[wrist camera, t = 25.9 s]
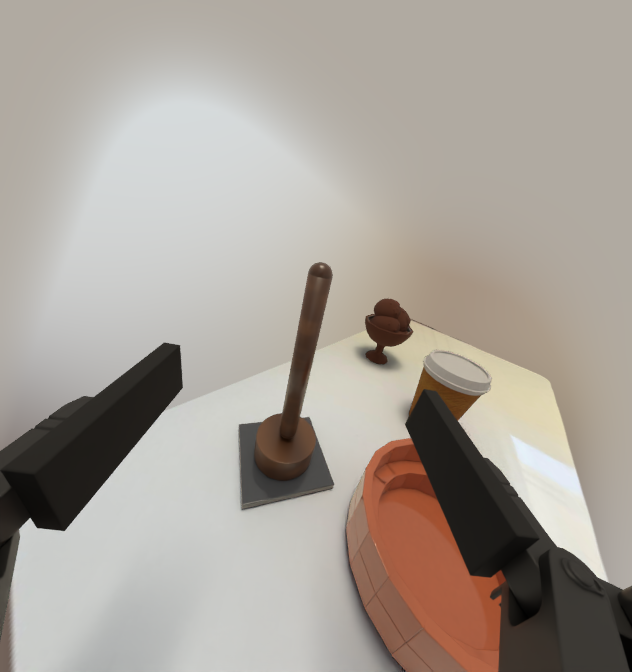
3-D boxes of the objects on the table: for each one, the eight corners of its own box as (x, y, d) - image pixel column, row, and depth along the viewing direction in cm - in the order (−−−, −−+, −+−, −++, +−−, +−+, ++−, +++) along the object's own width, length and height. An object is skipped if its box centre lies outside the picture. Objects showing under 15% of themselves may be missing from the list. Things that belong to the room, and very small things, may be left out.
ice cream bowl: (377, 374, 50) (401, 311, 44) (346, 348, 58) (363, 291, 52) (407, 367, 56) (433, 310, 49) (375, 344, 64) (394, 293, 57)
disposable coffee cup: (466, 452, 35) (510, 392, 30) (405, 436, 36) (438, 374, 31) (444, 409, 44) (475, 356, 39) (395, 396, 44) (420, 343, 39)
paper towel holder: (257, 486, 24) (289, 266, 14) (251, 432, 30) (272, 248, 20) (318, 474, 27) (382, 279, 17) (302, 426, 32) (343, 260, 22)
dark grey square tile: (241, 509, 23) (242, 505, 22) (238, 428, 31) (239, 424, 31) (332, 488, 26) (334, 484, 26) (308, 420, 35) (309, 416, 34)
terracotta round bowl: (421, 800, 12) (483, 800, 10) (321, 488, 26) (334, 450, 23) (577, 655, 19) (643, 628, 16) (430, 463, 32) (451, 430, 29)
